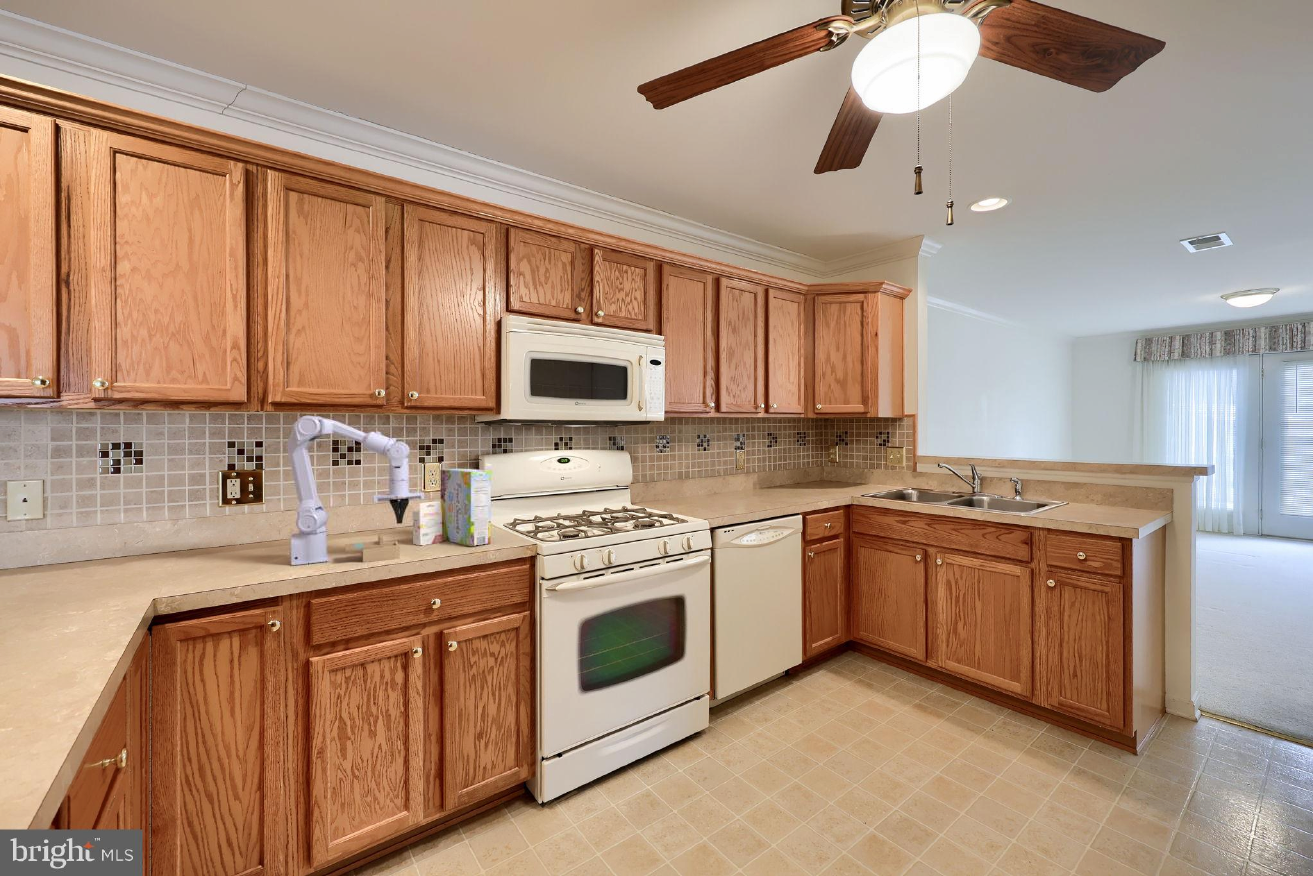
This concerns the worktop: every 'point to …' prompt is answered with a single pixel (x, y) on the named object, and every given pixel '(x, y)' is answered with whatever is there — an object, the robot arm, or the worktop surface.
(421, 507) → the ink cartridge box
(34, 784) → the worktop surface
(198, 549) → the worktop surface
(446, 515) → the snack box
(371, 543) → the mailer lid
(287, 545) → the worktop surface
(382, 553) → the mailer tray
